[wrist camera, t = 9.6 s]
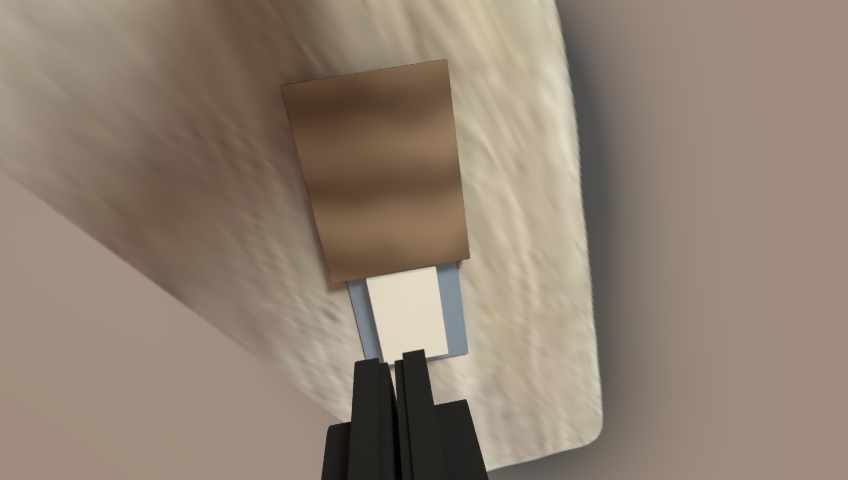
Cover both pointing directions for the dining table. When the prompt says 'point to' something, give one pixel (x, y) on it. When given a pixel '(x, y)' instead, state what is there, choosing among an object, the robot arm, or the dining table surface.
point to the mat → (450, 310)
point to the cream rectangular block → (408, 312)
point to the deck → (381, 168)
